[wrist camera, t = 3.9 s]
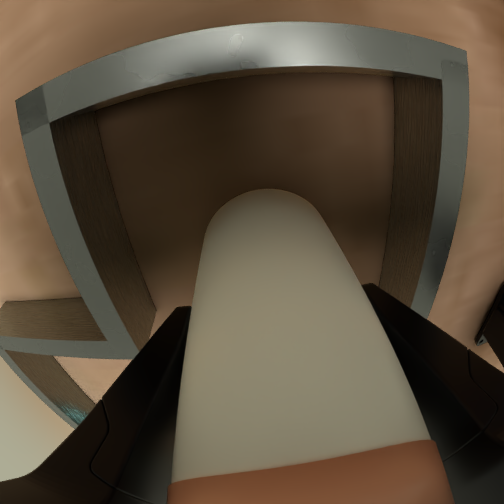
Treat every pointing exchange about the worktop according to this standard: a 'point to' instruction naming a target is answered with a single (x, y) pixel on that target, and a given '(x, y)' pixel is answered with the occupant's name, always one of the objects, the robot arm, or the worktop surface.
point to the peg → (292, 374)
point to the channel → (197, 71)
